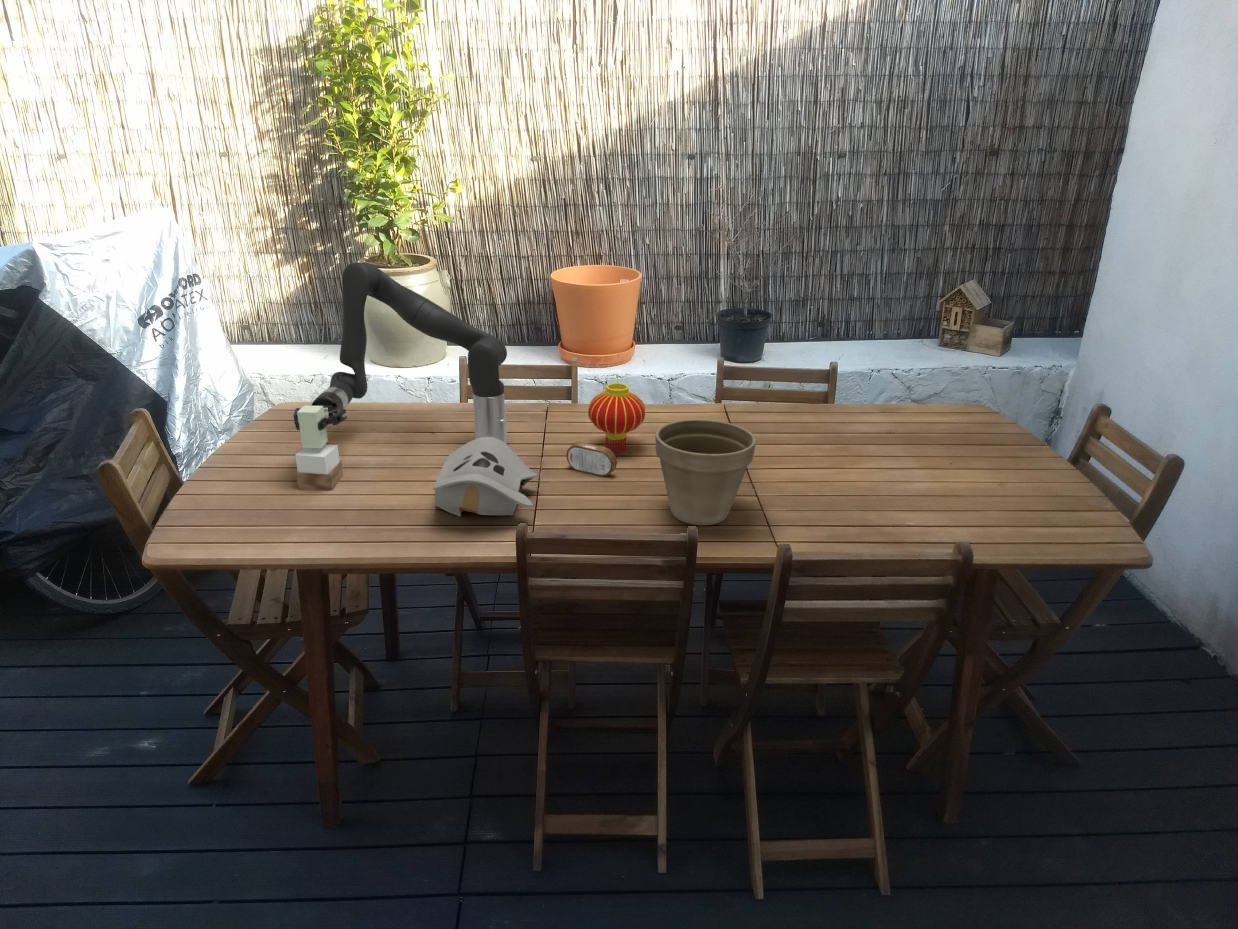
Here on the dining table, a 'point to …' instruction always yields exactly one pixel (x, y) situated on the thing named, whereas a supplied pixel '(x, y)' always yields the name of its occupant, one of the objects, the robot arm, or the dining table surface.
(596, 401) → the lantern
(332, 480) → the tower bottom
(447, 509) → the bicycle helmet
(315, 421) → the block
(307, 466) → the tower top
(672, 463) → the plant pot
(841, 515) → the dining table surface
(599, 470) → the tin
